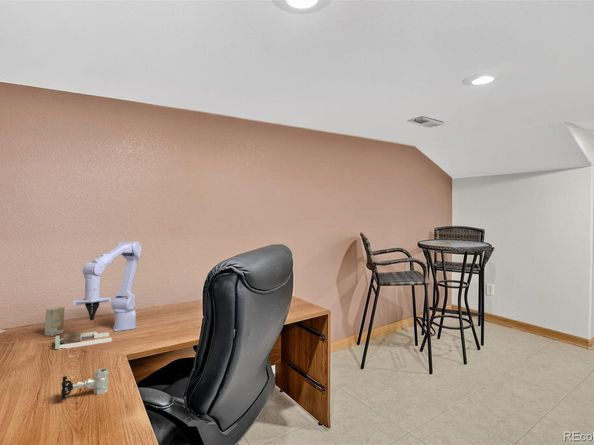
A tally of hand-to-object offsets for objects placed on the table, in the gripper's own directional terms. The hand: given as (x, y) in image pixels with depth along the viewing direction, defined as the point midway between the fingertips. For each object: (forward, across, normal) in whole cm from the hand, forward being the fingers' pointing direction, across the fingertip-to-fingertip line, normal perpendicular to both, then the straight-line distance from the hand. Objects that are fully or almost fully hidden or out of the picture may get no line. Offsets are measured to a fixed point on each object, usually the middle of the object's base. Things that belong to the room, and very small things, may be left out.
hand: (91, 319), depth 151 cm
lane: (+10, -3, +2) cm, 10 cm away
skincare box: (+10, -14, +21) cm, 27 cm away
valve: (+10, -5, -56) cm, 57 cm away
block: (+10, -7, 0) cm, 12 cm away
